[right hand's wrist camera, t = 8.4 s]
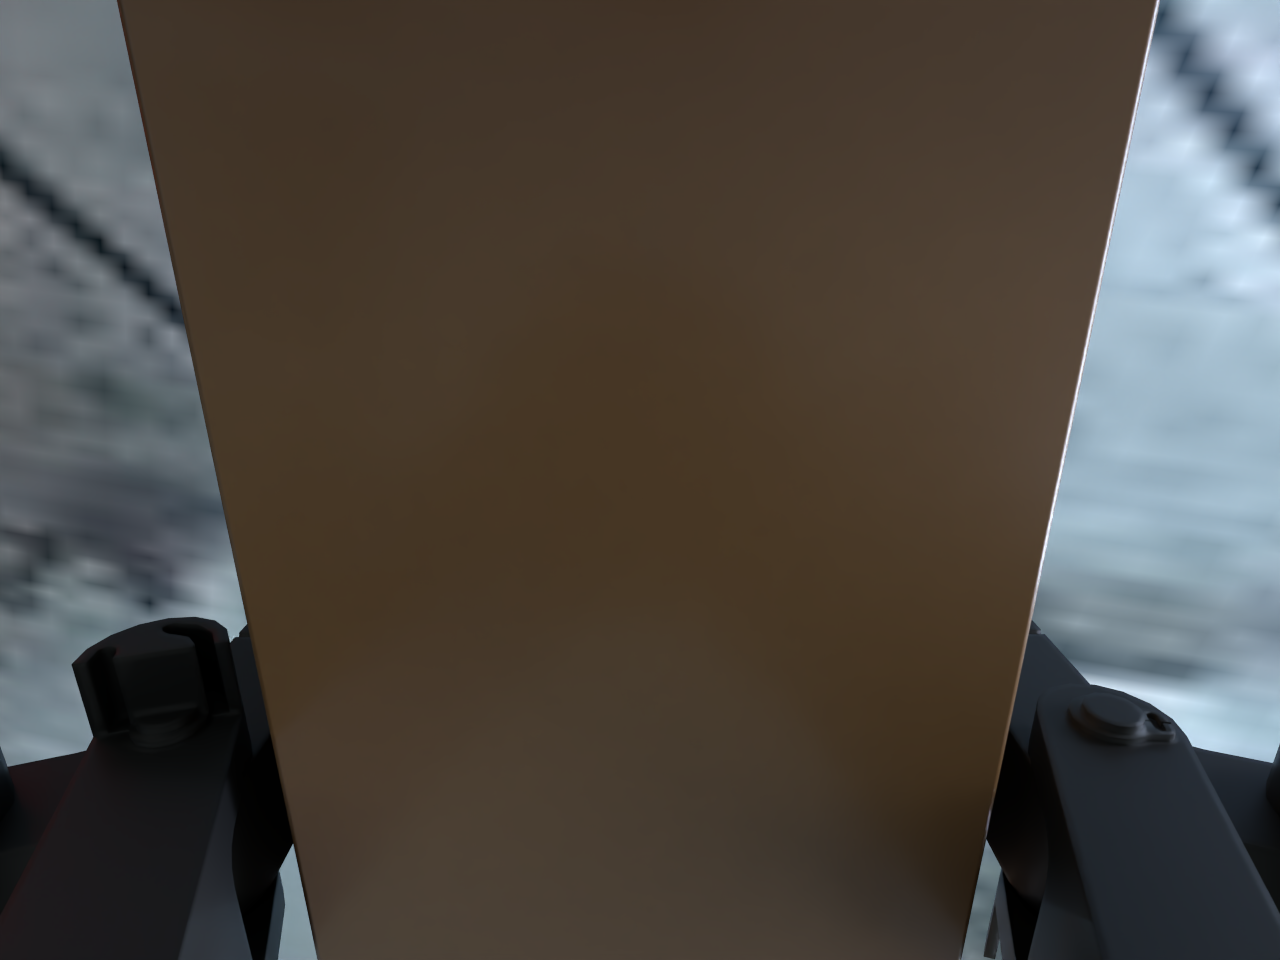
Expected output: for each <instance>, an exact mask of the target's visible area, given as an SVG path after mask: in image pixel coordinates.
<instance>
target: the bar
mask: <svg viewBox="0 0 1280 960" xmlns="http://www.w3.org/2000/svg"><path fill="white" fill-rule="evenodd" d="M117 3H118V8H119V12H120V17H121V22H122V27H123V31H124V36H125V41H126V46H127V51H128V55H129V60H130V65H131V70H132V75H133V79H134V84H135V89H136V94H137V98H138V103H139V108H140V113H141V118H142V122H143V127H144V132H145V137H146V141H147V146H148V151H149V156H150V161H151V165H152V170H153V175H154V180H155V184H156V189H157V194H158V199H159V204H160V208H161V213H162V218H163V223H164V227H165V232H166V237H167V242H168V247H169V251H170V256H171V261H172V266H173V270H174V275H175V280H176V285H177V290H178V294H179V299H180V304H181V309H182V314H183V318H184V323H185V328H186V333H187V337H188V342H189V347H190V352H191V357H192V361H193V366H194V371H195V376H196V380H197V385H198V390H199V395H200V400H201V404H202V409H203V414H204V419H205V423H206V428H207V433H208V438H209V443H210V447H211V452H212V457H213V462H214V466H215V471H216V476H217V481H218V486H219V490H220V495H221V500H222V505H223V509H224V514H225V519H226V524H227V529H228V533H229V538H230V543H231V548H232V553H233V557H234V562H235V567H236V572H237V576H238V581H239V586H240V591H241V596H242V600H243V605H244V610H245V615H246V619H247V624H248V629H249V634H250V639H251V643H252V648H253V653H254V658H255V662H256V667H257V672H258V677H259V682H260V686H261V691H262V696H263V701H264V705H265V710H266V715H267V720H268V725H269V729H270V734H271V739H272V744H273V749H274V753H275V758H276V763H277V768H278V772H279V777H280V782H281V787H282V792H283V796H284V801H285V806H286V811H287V815H288V820H289V825H290V830H291V835H292V839H293V844H294V849H295V854H296V858H297V863H298V868H299V873H300V878H301V882H302V887H303V892H304V897H305V901H306V906H307V911H308V916H309V921H310V925H311V930H312V935H313V940H314V944H315V949H316V954H317V959H318V960H961V957H962V953H963V948H964V943H965V938H966V933H967V929H968V924H969V919H970V914H971V909H972V904H973V900H974V895H975V890H976V885H977V880H978V875H979V871H980V866H981V861H982V856H983V851H984V847H985V842H986V837H987V832H988V827H989V822H990V818H991V813H992V808H993V803H994V798H995V794H996V789H997V784H998V779H999V774H1000V769H1001V765H1002V760H1003V755H1004V750H1005V745H1006V741H1007V736H1008V731H1009V726H1010V721H1011V716H1012V712H1013V707H1014V702H1015V697H1016V692H1017V687H1018V683H1019V678H1020V673H1021V668H1022V663H1023V659H1024V654H1025V649H1026V644H1027V639H1028V634H1029V630H1030V625H1031V620H1032V615H1033V610H1034V606H1035V601H1036V596H1037V591H1038V586H1039V581H1040V577H1041V572H1042V567H1043V562H1044V557H1045V553H1046V548H1047V543H1048V538H1049V533H1050V528H1051V524H1052V519H1053V514H1054V509H1055V504H1056V500H1057V495H1058V490H1059V485H1060V480H1061V475H1062V471H1063V466H1064V461H1065V456H1066V451H1067V446H1068V442H1069V437H1070V432H1071V427H1072V422H1073V418H1074V413H1075V408H1076V403H1077V398H1078V393H1079V389H1080V384H1081V379H1082V374H1083V369H1084V365H1085V360H1086V355H1087V350H1088V345H1089V340H1090V336H1091V331H1092V326H1093V321H1094V316H1095V312H1096V307H1097V302H1098V297H1099V292H1100V287H1101V283H1102V278H1103V273H1104V268H1105V263H1106V259H1107V254H1108V249H1109V244H1110V239H1111V234H1112V230H1113V225H1114V220H1115V215H1116V210H1117V205H1118V201H1119V196H1120V191H1121V186H1122V181H1123V177H1124V172H1125V167H1126V162H1127V157H1128V152H1129V148H1130V143H1131V138H1132V133H1133V128H1134V124H1135V119H1136V114H1137V109H1138V104H1139V99H1140V95H1141V90H1142V85H1143V80H1144V75H1145V71H1146V66H1147V61H1148V56H1149V51H1150V46H1151V42H1152V37H1153V32H1154V27H1155V22H1156V18H1157V13H1158V8H1159V3H1160V0H117Z"/></svg>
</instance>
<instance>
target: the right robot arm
mask: <svg viewBox="0 0 1280 960" xmlns="http://www.w3.org/2000/svg"><path fill="white" fill-rule="evenodd" d="M72 668H73V671H74V674H75V678H76V681H77V684H78V687H79V691H80V694H81V697H82V701H83V704H84V707H85V711H86V714H87V717H88V720H89V724H90V727H91V730H92V734H93V739H92V741H91V743H90V745H89V747H88V749H87V750H86V751H83V752H79V753H75V754H70V755H65V756H59V757H54V758H49V759H44V760H39V761H34V762H29V763H24V764H19V765H14V766H9V767H7V764H6V761H5V759H4V756H3V753H2V750H1V747H0V960H278V954H279V946H280V939H281V932H282V924H283V917H284V909H285V900H284V893H283V886H282V882H281V877H280V873H279V869H280V867H281V865H282V863H283V862H284V860H285V858H286V856H287V854H288V852H289V850H290V848H291V846H292V844H293V839H292V835H291V830H290V825H289V820H288V815H287V811H286V806H285V801H284V796H283V792H282V787H281V782H280V777H279V772H278V768H277V763H276V758H275V753H274V749H273V744H272V739H271V734H270V729H269V725H268V720H267V715H266V710H265V705H264V701H263V696H262V691H261V686H260V682H259V677H258V672H257V667H256V662H255V658H254V653H253V648H252V643H251V639H250V634H249V629H248V624H247V625H246V626H245V627H244V628H243V629H242V630H241V631H240V633H239V637H235V638H234V639H233V640H232V641H231V643H230V641H229V637H228V632H227V629H226V628H225V627H223V626H222V625H221V624H219V623H218V622H216V621H215V620H209V619H204V618H198V617H183V618H167V619H163V620H158V621H154V622H149V623H144V624H140V625H137V626H134V627H131V628H129V629H126V630H123V631H121V632H118V633H115V634H113V635H110V636H109V637H107V638H105V639H103V640H102V641H100V642H98V643H97V644H95V645H93V646H91V647H90V648H88V649H87V650H85V651H84V652H83V653H82V654H81V655H80V656H79V657H78V658H77V659H76V660H75V661H74V662H73V663H72ZM986 839H987V841H988V843H989V845H990V847H991V849H992V851H993V853H994V854H995V856H996V858H997V860H998V862H999V864H1000V866H1001V873H1000V877H999V882H998V886H997V891H996V896H995V900H994V905H993V910H992V914H991V919H990V923H989V928H988V933H987V937H986V944H985V951H984V957H988V958H992V959H995V957H996V952H997V948H998V943H999V941H1000V944H1001V952H1002V959H1003V960H1280V745H1279V748H1278V751H1277V754H1276V757H1275V759H1274V762H1273V763H1269V762H1264V761H1259V760H1254V759H1249V758H1244V757H1239V756H1234V755H1229V754H1224V753H1219V752H1214V751H1208V750H1204V749H1200V748H1196V747H1192V745H1191V743H1190V741H1189V739H1188V738H1187V736H1186V735H1185V733H1184V732H1183V731H1182V730H1181V729H1180V727H1179V726H1178V725H1177V724H1176V723H1175V721H1174V720H1173V719H1172V718H1170V717H1169V716H1167V715H1166V714H1164V713H1163V712H1161V711H1160V710H1158V709H1157V708H1156V707H1154V706H1153V705H1151V704H1150V703H1147V702H1145V701H1143V700H1140V699H1138V698H1136V697H1133V696H1131V695H1129V694H1127V693H1124V692H1121V691H1117V690H1113V689H1109V688H1105V687H1101V686H1097V685H1090V684H1089V683H1088V682H1087V681H1086V679H1085V678H1084V677H1083V676H1082V675H1081V674H1080V673H1079V672H1078V671H1077V669H1076V668H1075V667H1074V666H1073V665H1072V664H1071V663H1070V662H1069V661H1068V659H1067V658H1066V657H1065V656H1064V655H1063V654H1062V653H1061V652H1060V651H1059V649H1058V648H1057V647H1056V646H1055V645H1054V644H1053V643H1052V642H1051V641H1050V640H1049V638H1048V637H1047V636H1046V635H1045V634H1041V630H1040V628H1039V627H1038V626H1037V625H1036V624H1035V623H1034V622H1033V621H1032V620H1031V625H1030V630H1029V634H1028V639H1027V644H1026V649H1025V654H1024V659H1023V663H1022V668H1021V673H1020V678H1019V683H1018V687H1017V692H1016V697H1015V702H1014V707H1013V712H1012V716H1011V721H1010V726H1009V731H1008V736H1007V741H1006V745H1005V750H1004V755H1003V760H1002V765H1001V769H1000V774H999V779H998V784H997V789H996V794H995V798H994V803H993V808H992V813H991V818H990V822H989V827H988V832H987V837H986Z"/></svg>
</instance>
